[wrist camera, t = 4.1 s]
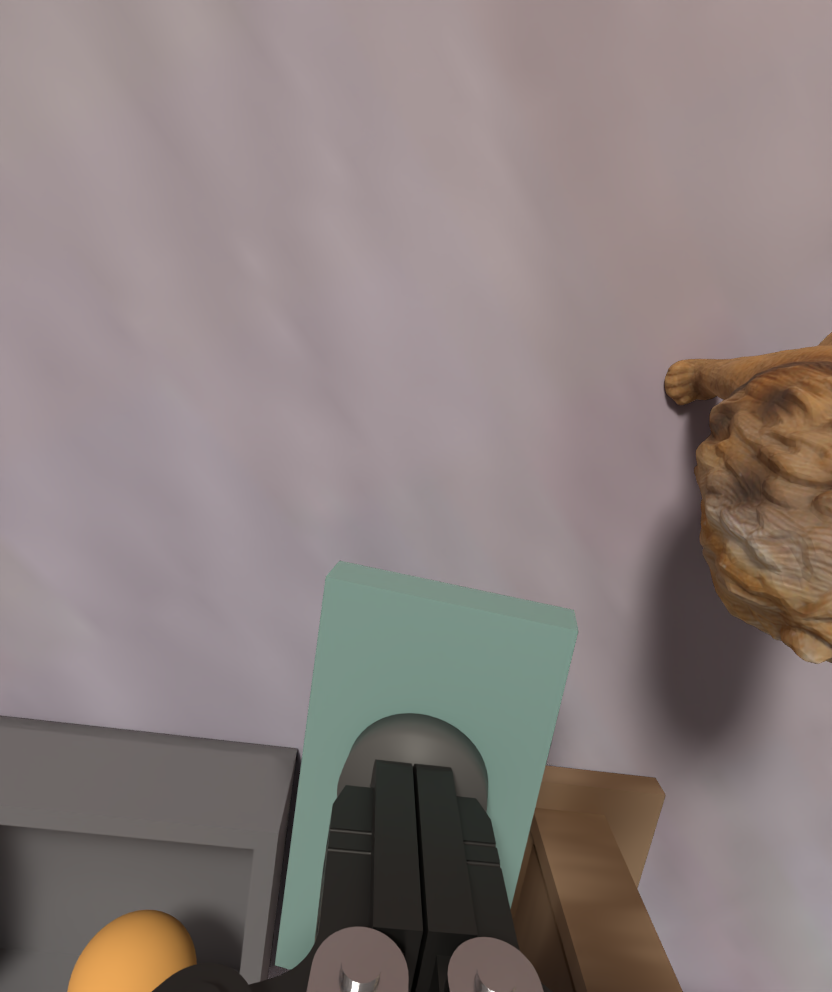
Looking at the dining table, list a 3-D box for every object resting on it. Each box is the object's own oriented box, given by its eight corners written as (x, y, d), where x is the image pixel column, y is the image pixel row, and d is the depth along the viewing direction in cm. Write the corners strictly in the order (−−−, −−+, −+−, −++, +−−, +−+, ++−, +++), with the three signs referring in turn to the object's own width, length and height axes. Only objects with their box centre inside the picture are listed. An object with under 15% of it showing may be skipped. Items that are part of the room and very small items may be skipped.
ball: (90, 883, 18) (208, 880, 18) (86, 970, 18) (200, 964, 19) (47, 1000, 15) (190, 991, 15) (45, 1099, 15) (182, 1086, 16)
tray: (297, 748, 20) (267, 881, 15) (269, 969, 22) (235, 1145, 17) (-34, 711, 19) (-176, 839, 14) (-29, 944, 21) (-151, 1122, 17)
